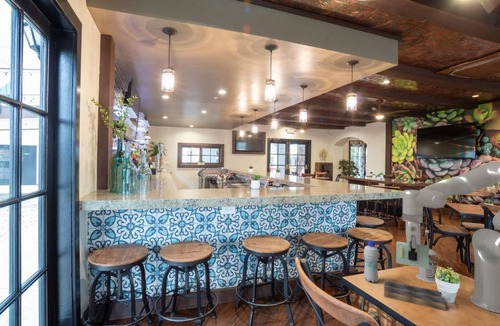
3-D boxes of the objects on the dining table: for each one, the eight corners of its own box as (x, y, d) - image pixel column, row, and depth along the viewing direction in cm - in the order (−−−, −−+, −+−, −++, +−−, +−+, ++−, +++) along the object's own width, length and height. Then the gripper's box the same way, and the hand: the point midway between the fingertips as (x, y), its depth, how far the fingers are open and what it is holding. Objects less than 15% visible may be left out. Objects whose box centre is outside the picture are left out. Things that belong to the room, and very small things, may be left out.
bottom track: (440, 296, 112) (440, 289, 112) (445, 310, 102) (445, 302, 102) (384, 285, 123) (384, 278, 123) (384, 296, 112) (384, 288, 112)
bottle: (375, 278, 130) (375, 239, 130) (380, 284, 124) (380, 243, 124) (361, 277, 131) (361, 239, 131) (366, 283, 124) (366, 243, 124)
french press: (411, 275, 134) (411, 228, 134) (427, 272, 137) (427, 226, 137) (429, 283, 124) (429, 233, 124) (446, 280, 128) (446, 231, 128)
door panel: (427, 266, 111) (427, 245, 111) (429, 269, 108) (429, 248, 108) (396, 260, 116) (396, 241, 116) (396, 263, 113) (396, 243, 113)
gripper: (424, 222, 103) (424, 267, 103) (420, 215, 118) (420, 254, 118) (403, 220, 107) (403, 263, 107) (401, 213, 121) (401, 251, 121)
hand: (412, 258), depth 112 cm, fingers closed on door panel, 3 cm apart
